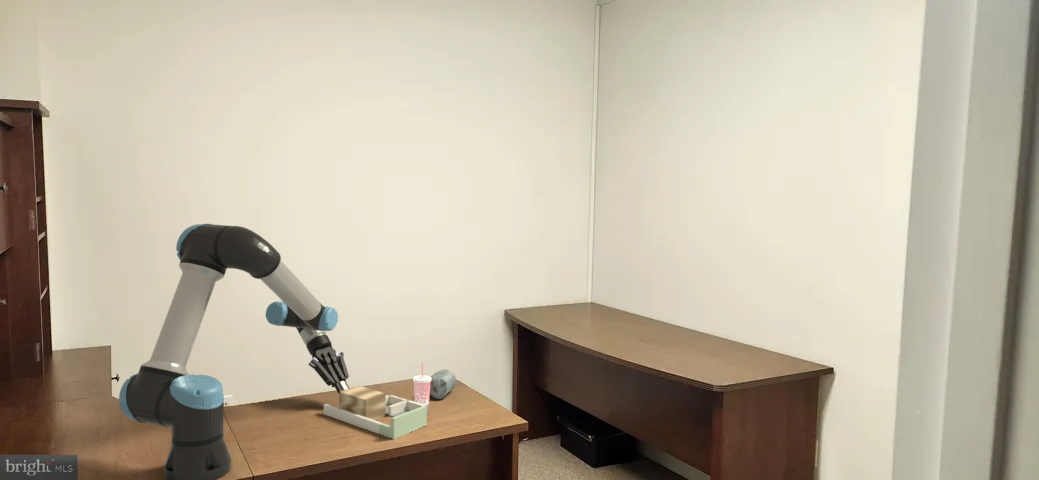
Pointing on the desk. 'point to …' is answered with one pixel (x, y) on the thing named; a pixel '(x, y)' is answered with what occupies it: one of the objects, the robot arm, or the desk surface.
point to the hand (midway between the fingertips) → (349, 400)
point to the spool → (442, 383)
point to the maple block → (363, 402)
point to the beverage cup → (422, 388)
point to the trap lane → (402, 411)
